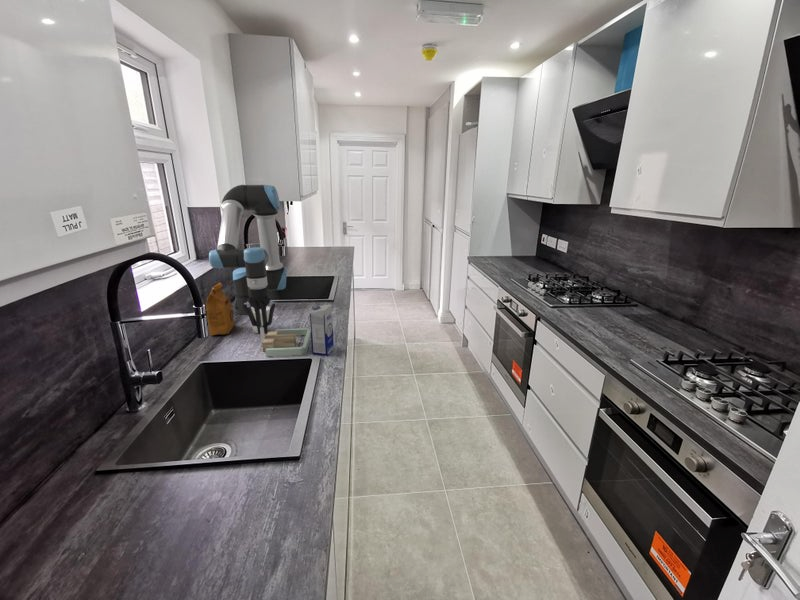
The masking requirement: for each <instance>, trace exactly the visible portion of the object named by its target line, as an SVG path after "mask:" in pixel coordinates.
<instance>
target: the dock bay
mask: <svg viewBox="0 0 800 600" xmlns="http://www.w3.org/2000/svg"><path fill="white" fill-rule="evenodd" d="M274 331H278V335H286V334H296V337H303V336H302V335H306V336H304V340H303V344H302V346H295V347H275V348H267V349H266V350H265V351H266V352H265V357H266V356H278V357H289V356H288V355H300V356H307V354H308V350H309V346H310V343H311V333H310V327H305V328H303V327H301V328H278V329H275V330H274Z"/></svg>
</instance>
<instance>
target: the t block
mask: <svg viewBox="0 0 800 600" xmlns="http://www.w3.org/2000/svg"><path fill="white" fill-rule="evenodd" d="M261 345H262V346H261V347H262V352H263V353H266V351H265V350H266V349H267V348H291V347H296V345H297V336H296V334H286V335H278V331H275V330H273V331H271V330H270V331H269V330H268V333H267V334H266V337H265V339H264V341H263V342H261Z"/></svg>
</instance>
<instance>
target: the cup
mask: <svg viewBox="0 0 800 600" xmlns="http://www.w3.org/2000/svg"><path fill="white" fill-rule="evenodd" d="M270 308H271V307H270V305H269V306H267V307H266V313H267V322H268V319H269V312H270ZM251 309H252V312H253V315H254V317H255V320H256V315H255V310H254V308H253V307H251ZM260 317H261V323H262V324H261V325H263V319H262V312H261V309H260ZM251 327H252V330H253V332H254V333H255V334H258V329H257V327H256V326H252V325H251Z"/></svg>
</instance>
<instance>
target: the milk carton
mask: <svg viewBox="0 0 800 600" xmlns="http://www.w3.org/2000/svg"><path fill="white" fill-rule="evenodd" d="M332 305H333V304H323V305H321V306H320V304H318V305H315V306H313V307H312V310H311V311H310V312H308V318H309V328H310V333H311V339H310V344H311V345H310V346H311V348H310V349H311V355H312V354H313V355H314V356H323V357H328V356H329V355H330V354H331V353H332V352H333V350H334V349H335V347H334V344H335V342H334V330H333V329H334V326H333V325H334V324H333V308H332ZM313 355H312V356H313Z"/></svg>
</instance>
